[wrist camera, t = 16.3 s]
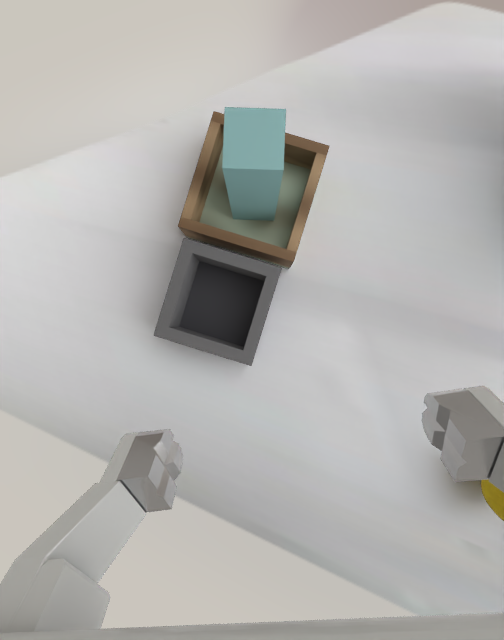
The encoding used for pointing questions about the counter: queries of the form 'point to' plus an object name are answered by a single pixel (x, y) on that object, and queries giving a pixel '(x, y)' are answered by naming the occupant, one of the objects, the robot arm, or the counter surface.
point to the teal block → (253, 160)
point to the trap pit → (217, 301)
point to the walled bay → (252, 235)
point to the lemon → (493, 497)
